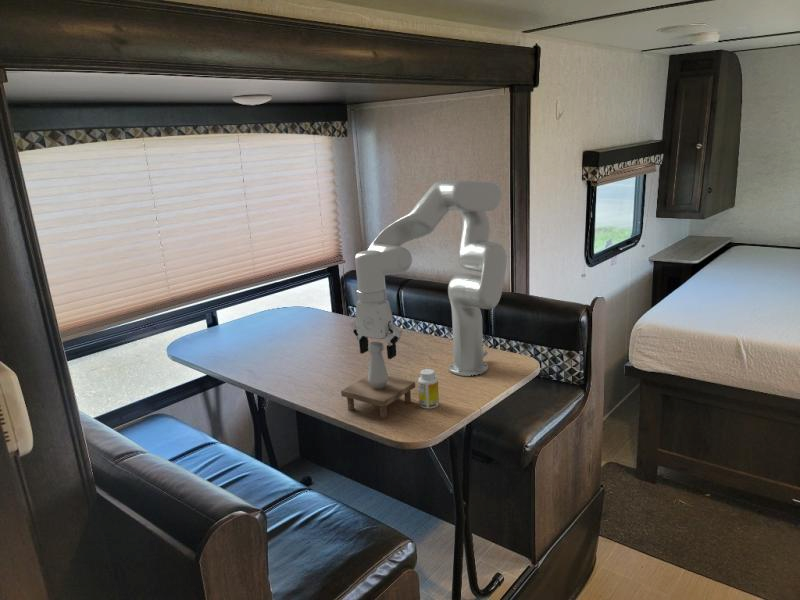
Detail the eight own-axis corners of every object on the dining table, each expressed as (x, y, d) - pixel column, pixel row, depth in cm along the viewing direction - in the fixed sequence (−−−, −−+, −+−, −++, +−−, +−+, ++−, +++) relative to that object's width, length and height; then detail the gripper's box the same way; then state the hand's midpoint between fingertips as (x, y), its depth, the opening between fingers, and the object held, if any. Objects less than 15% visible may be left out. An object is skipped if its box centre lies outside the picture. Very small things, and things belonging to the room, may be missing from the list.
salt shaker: (378, 380, 166) (375, 338, 163) (393, 384, 163) (390, 341, 159) (364, 387, 162) (360, 344, 159) (379, 391, 159) (376, 347, 155)
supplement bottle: (440, 401, 164) (439, 368, 162) (436, 410, 159) (435, 375, 156) (422, 400, 166) (420, 367, 163) (417, 408, 161) (415, 374, 158)
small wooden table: (375, 391, 174) (373, 372, 173) (416, 401, 165) (415, 381, 164) (342, 410, 162) (341, 390, 161) (385, 422, 154) (383, 401, 152)
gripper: (339, 296, 158) (346, 354, 162) (390, 302, 148) (395, 364, 153) (356, 289, 164) (362, 345, 168) (406, 295, 154) (411, 354, 158)
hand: (378, 354), depth 160 cm, fingers open, 9 cm apart
